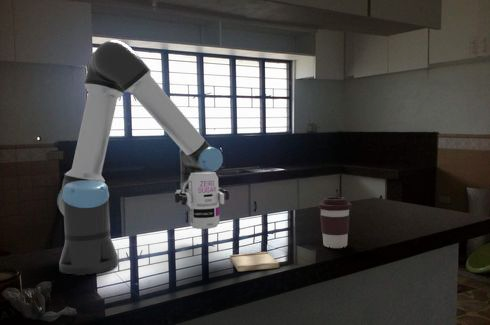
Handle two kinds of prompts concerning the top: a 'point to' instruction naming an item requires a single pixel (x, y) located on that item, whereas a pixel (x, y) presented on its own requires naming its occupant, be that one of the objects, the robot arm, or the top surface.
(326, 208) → the coffee cup
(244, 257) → the trivet
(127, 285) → the top surface
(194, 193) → the supplement can
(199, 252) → the top surface
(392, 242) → the top surface
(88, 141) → the robot arm
